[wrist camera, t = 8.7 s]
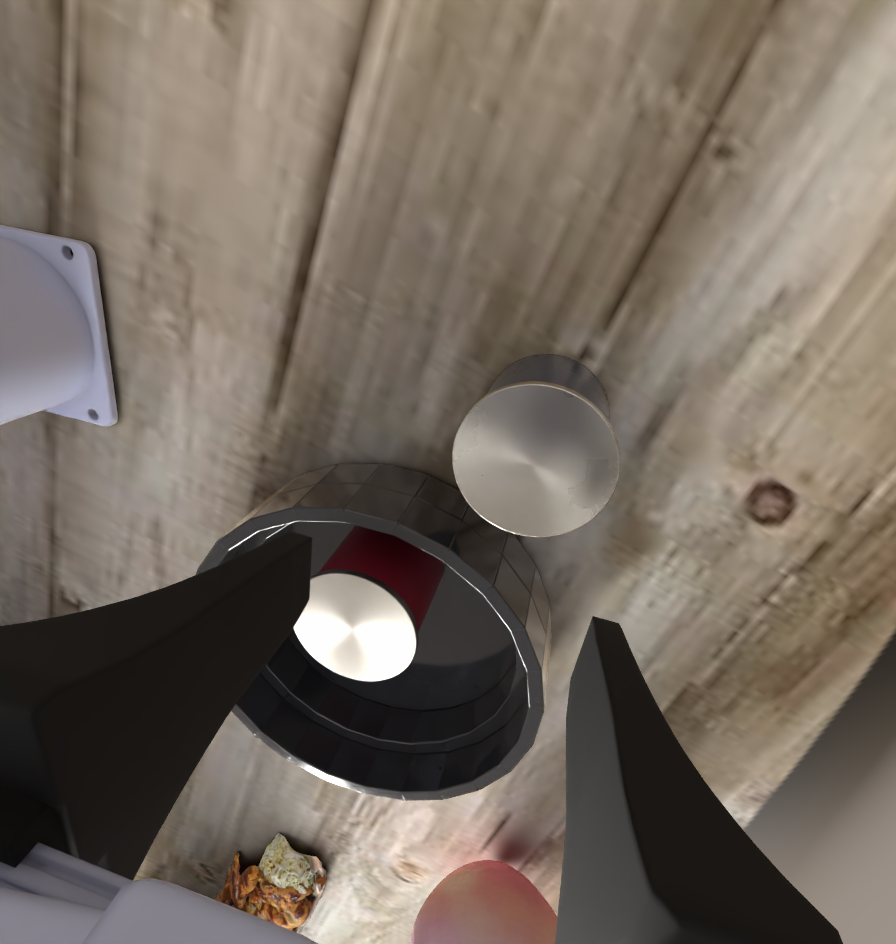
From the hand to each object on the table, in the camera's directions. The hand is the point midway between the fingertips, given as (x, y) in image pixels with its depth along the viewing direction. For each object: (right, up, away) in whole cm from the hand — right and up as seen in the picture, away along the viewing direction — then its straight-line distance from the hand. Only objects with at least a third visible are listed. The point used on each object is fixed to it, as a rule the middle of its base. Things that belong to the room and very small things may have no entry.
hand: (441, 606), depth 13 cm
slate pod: (+4, +6, +7) cm, 10 cm away
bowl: (-3, -3, +13) cm, 13 cm away
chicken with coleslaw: (-12, -26, +26) cm, 39 cm away
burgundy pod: (-2, -1, +11) cm, 11 cm away
